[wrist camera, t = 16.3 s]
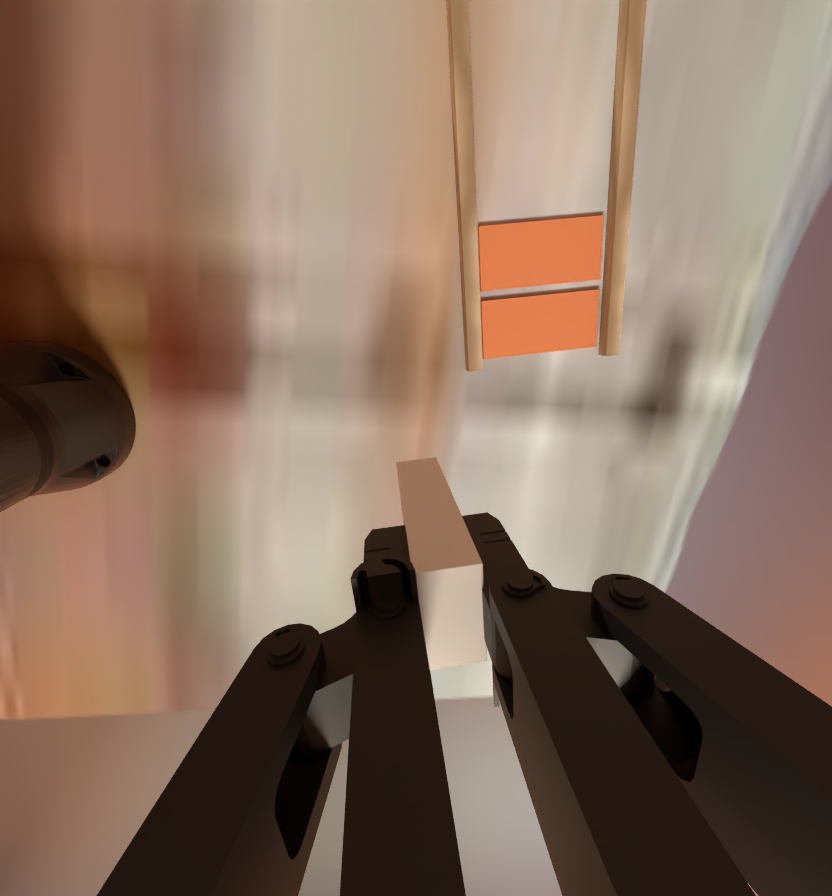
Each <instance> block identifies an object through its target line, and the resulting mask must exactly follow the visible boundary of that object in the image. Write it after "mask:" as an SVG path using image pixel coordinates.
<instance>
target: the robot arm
mask: <svg viewBox="0 0 832 896" xmlns="http://www.w3.org/2000/svg"><path fill="white" fill-rule="evenodd" d="M134 438H135V421H134V416H133V412H132V408H131V406H130V403H129V401H128V399H127V397H126V395H125V393H124V392H123V390H122V389H121V387H120V386H119V384H118V383H117V382H116V381H115V380H114V378H113V377H112V376H111V375H110V374H109V373H108V372H107V371H106V370H105V369H104V368H102V367H101V366H100V365H99V364H97V363H96V362H95V361H93V360H92V359H90V358H88V357H87V356H85V355H83V354H81V353H79V352H77V351H75V350H73V349H70V348H68V347H65V346H62V345H58V344H54V343H49V342H40V341H26V342H11V343H3V344H0V512H1V511H3V510H5V509H7V508H8V507H10V506H12V505H14V504H16V503H17V502H19V501H21V500H23V499H25V498H27V497H29V496H35V495H41V494H48V493H54V492H60V491H67V490H73V489H78V488H81V487H84V486H87V485H90V484H92V483H94V482H96V481H98V480H100V479H102V478H103V477H105V476H107V475H109V474H110V473H112V472H113V471H115V470H116V469H117V468H118V467H120V466H121V465H122V463H123V462H124V461H125V460H126V458H127V457H128V455H129V453H130V451H131V449H132V446H133V443H134ZM396 464H397V473H398V481H399V489H400V497H401V505H402V513H403V522H404V525H402V526H395V527H388V528H381V529H373V530H372V531H371V532H370V533H369V535H368V536H367V538H366V539H365V546H364V562H363V563H362V564H360V565H359V566H358V567H357V568H356V569H355V570H354V572H353V574H352V577H351V584H352V589H353V595H354V600H355V606H356V611H357V612H356V613H355V614H354V615H353V616H352V617H351V618H350V619H349V620H347V621H346V622H345V623H343V624H341V625H339V626H337V627H336V628H333V629H331V630H329V631H326V632H324V633H321V634H319V632H318V631H317V630H316V629H315V628H313V627H312V626H310V625H305V624H301V623H300V624H292V625H287V626H284V627H282V628H279V629H277V630H274V631H273V632H272V633H270V634H269V635H267V636H266V637H264V638H263V639H262V640H261V641H260V643H259V644H258V645H257V646H256V647H255V648H254V650H253V651H252V653H251V654H250V656H249V658H248V659H247V661H246V662H245V664H244V665H243V667H242V669H241V670H240V672H239V673H238V675H237V676H236V678H235V679H234V681H233V683H232V684H231V686H230V687H229V689H228V690H227V692H226V694H225V695H224V697H223V698H222V700H221V701H220V703H219V705H218V706H217V708H216V709H215V711H214V712H213V714H212V716H211V718H210V719H209V720H208V722H207V723H206V725H205V727H204V728H203V730H202V731H201V733H200V734H199V736H198V738H197V739H196V741H195V742H194V744H193V746H192V747H191V749H190V750H189V752H188V753H187V755H186V756H185V758H184V759H183V761H182V763H181V764H180V766H179V767H178V769H177V770H176V772H175V774H174V775H173V777H172V778H171V780H170V782H169V783H168V785H167V786H166V788H165V790H164V791H163V793H162V794H161V796H160V797H159V799H158V800H157V802H156V803H155V805H154V807H153V808H152V810H151V811H150V813H149V814H148V816H147V818H146V819H145V821H144V822H143V824H142V825H141V827H140V829H139V830H138V832H137V833H136V835H135V836H134V838H133V839H132V841H131V843H130V844H129V846H128V847H127V849H126V850H125V852H124V854H123V855H122V857H121V858H120V860H119V861H118V863H117V865H116V866H115V868H114V870H113V871H112V872H111V874H110V876H109V877H108V879H107V880H106V882H105V883H104V885H103V887H102V888H101V890H100V891H99V893H98V894H97V896H298V894H299V890H300V887H301V883H302V880H303V877H304V873H305V870H306V866H307V863H308V860H309V856H310V853H311V849H312V846H313V843H314V840H315V836H316V833H317V829H318V826H319V823H320V819H321V816H322V812H323V809H324V806H325V802H326V799H327V795H328V792H329V789H330V785H331V782H332V778H333V775H334V772H335V768H336V765H337V762H338V758H339V755H340V751H341V748H342V742H343V741H345V740H347V739H349V750H348V751H349V752H348V767H347V785H346V802H345V820H344V836H343V853H342V854H343V855H342V870H341V887H340V896H466V895H465V888H464V883H463V875H462V870H461V863H460V857H459V850H458V844H457V838H456V831H455V825H454V819H453V813H452V807H451V800H450V795H449V788H448V781H447V775H446V769H445V762H444V756H443V751H442V744H441V738H440V731H439V725H438V718H437V713H436V707H435V700H434V693H433V687H432V681H431V674H430V670H433V669H439V668H446V667H452V666H458V665H464V664H470V663H476V662H482V661H487V648H488V651H489V654H490V657H491V660H492V671H493V695H494V706H495V707H497V706H499V700H500V703H501V706H502V710H503V713H504V716H505V719H506V722H507V725H508V728H509V731H510V734H511V737H512V741H513V744H514V746H515V750H516V753H517V756H518V759H519V762H520V765H521V768H522V771H523V774H524V778H525V781H526V784H527V787H528V790H529V793H530V796H531V799H532V803H533V806H534V809H535V811H536V815H537V818H538V821H539V824H540V827H541V830H542V833H543V837H544V840H545V843H546V846H547V849H548V852H549V855H550V858H551V861H552V865H553V868H554V871H555V874H556V876H557V880H558V883H559V886H560V889H561V892H562V895H563V896H756V895H755V894H754V892H753V891H752V889H751V888H750V886H751V887H752V888H753V890H754V891H755V892H756V893H757V894H758V895H759V896H832V707H831V706H830V705H828V704H827V703H826V702H824V701H823V700H821V699H820V698H818V697H817V696H815V695H814V694H812V693H811V692H809V691H808V690H806V689H805V688H804V687H802V686H801V685H799V684H798V683H796V682H795V681H793V680H792V679H790V678H789V677H787V676H786V675H784V674H783V673H781V672H780V671H778V670H777V669H776V668H774V667H773V666H771V665H770V664H768V663H767V662H765V661H764V660H762V659H761V658H759V657H758V656H757V655H755V654H754V653H752V652H750V651H749V650H748V649H746V648H745V647H743V646H742V645H740V644H739V643H737V642H736V641H734V640H733V639H732V638H730V637H728V636H727V635H725V634H724V633H722V632H721V631H720V630H718V629H716V628H715V627H714V626H712V625H711V624H709V623H708V622H707V621H705V620H704V619H702V618H701V617H699V616H698V615H696V614H695V613H693V612H692V611H690V610H689V609H687V608H686V607H684V606H683V605H681V604H680V603H679V602H677V601H675V600H674V599H673V598H671V597H670V596H668V595H667V594H665V593H664V592H662V591H661V590H659V589H658V588H657V587H655V586H654V585H652V584H650V583H648V582H646V581H644V580H642V579H640V578H637V577H633V576H630V575H623V574H610V575H605V576H602V577H600V578H599V579H597V580H595V582H594V584H593V587H592V592H582V591H570V590H563V589H558V588H555V587H553V586H552V585H551V583H550V582H549V581H548V580H547V579H546V578H545V577H544V576H543V575H542V574H540V573H538V572H536V571H534V570H531V569H529V568H528V567H527V565H526V563H525V562H524V560H523V558H522V557H521V555H520V554H519V552H518V550H517V549H516V547H515V545H514V544H513V542H512V541H511V540H510V537H509V536H508V534H507V532H505V529H504V528H503V526H502V524H501V523H500V521H499V520H498V519H496V518H495V517H493V516H492V515H490V514H489V513H481V514H473V515H466V516H462V515H461V513H460V511H459V509H458V506H457V504H456V502H455V499H454V497H453V495H452V493H451V490H450V488H449V486H448V483H447V481H446V479H445V477H444V474H443V472H442V470H441V468H440V465H439V463H438V461H437V458H436V457H435V458H427V459H419V460H412V461H404V462H396ZM486 645H487V647H486ZM746 881H747V882H746ZM748 884H749V885H750V886H749V885H748Z"/></svg>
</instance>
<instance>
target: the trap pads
mask: <svg viewBox="0 0 832 896" xmlns="http://www.w3.org/2000/svg"><path fill="white" fill-rule="evenodd" d="M603 226H604V215H600V216H589V217H577V218H566V219H555V220H543V221H532V222H521V223H509V224H498V225H487V226H478V239H479V265H480V291H488V290H498V289H508V288H518V287H528V286H538V285H548V284H558V283H568V282H578V281H588V280H598V279H600V278H601V261H602V243H603ZM599 295H600V289H597V290H587V291H578V292H568V293H558V294H548V295H538V296H528V297H518V298H509V299H499V300H489V301H481V318H482V345H483V359H489V358H498V357H506V356H515V355H524V354H533V353H542V352H551V351H560V350H569V349H578V348H587V347H596V346H597V330H598V313H599Z"/></svg>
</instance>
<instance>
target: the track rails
mask: <svg viewBox="0 0 832 896" xmlns="http://www.w3.org/2000/svg"><path fill="white" fill-rule="evenodd" d="M646 2H647V0H620V10H619V27H618V44H617V60H616V77H615V93H614V110H613V127H612V143H611V160H610V177H609V193H608V210H607V227H606V243H605V260H604V276H603V293H602V310H601V326H600V343H599V355H603V356H611V355H619V351H620V338H621V325H622V312H623V299H624V286H625V273H626V260H627V247H628V234H629V221H630V208H631V195H632V183H633V170H634V157H635V144H636V131H637V118H638V105H639V92H640V79H641V66H642V53H643V40H644V27H645V15H646ZM446 3H447V22H448V41H449V60H450V79H451V98H452V117H453V136H454V154H455V173H456V192H457V211H458V230H459V249H460V268H461V287H462V306H463V325H464V344H465V362H466V370H467V371H478V370H483V368H482V342H481V317H480V291H479V265H478V239H477V213H476V187H475V161H474V135H473V109H472V83H471V57H470V32H469V6H468V0H446Z"/></svg>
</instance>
